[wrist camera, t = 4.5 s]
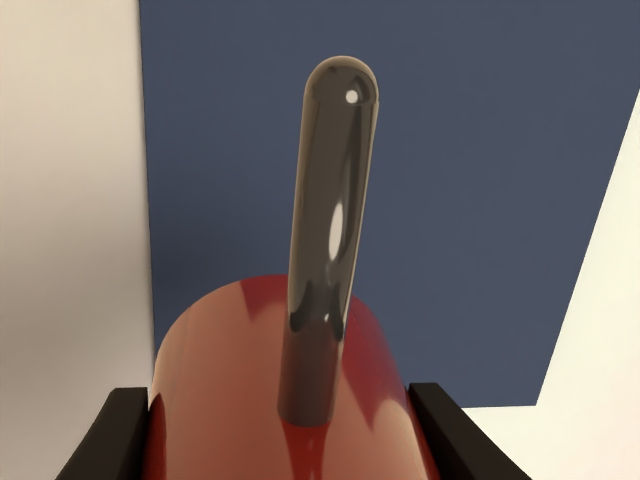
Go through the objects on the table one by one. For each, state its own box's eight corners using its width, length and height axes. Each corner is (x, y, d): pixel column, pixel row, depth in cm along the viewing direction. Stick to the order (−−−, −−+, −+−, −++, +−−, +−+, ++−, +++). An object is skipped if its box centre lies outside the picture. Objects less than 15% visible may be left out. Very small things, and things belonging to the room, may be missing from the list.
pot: (372, 454, 16) (448, 726, 10) (158, 461, 15) (120, 765, 10) (454, 23, 11) (671, 122, 6) (143, -5, 10) (52, 84, 5)
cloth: (532, 401, 27) (536, 405, 27) (158, 412, 24) (158, 418, 24) (667, -14, 19) (673, -14, 19) (137, -63, 16) (136, -63, 16)
